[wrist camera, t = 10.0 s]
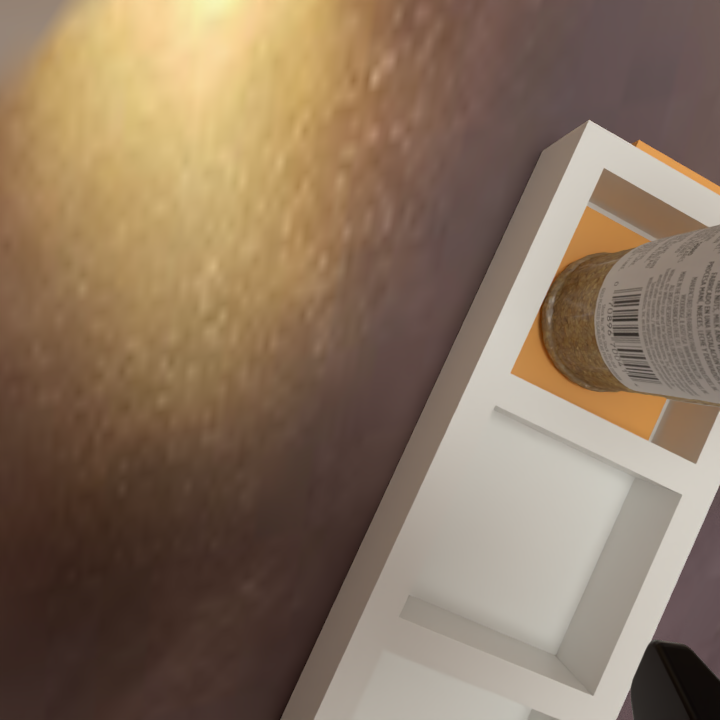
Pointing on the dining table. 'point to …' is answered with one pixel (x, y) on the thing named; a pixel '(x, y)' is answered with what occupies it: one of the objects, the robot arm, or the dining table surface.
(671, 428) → the condiment rack
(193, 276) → the dining table surface
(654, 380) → the sprinkles bottle
